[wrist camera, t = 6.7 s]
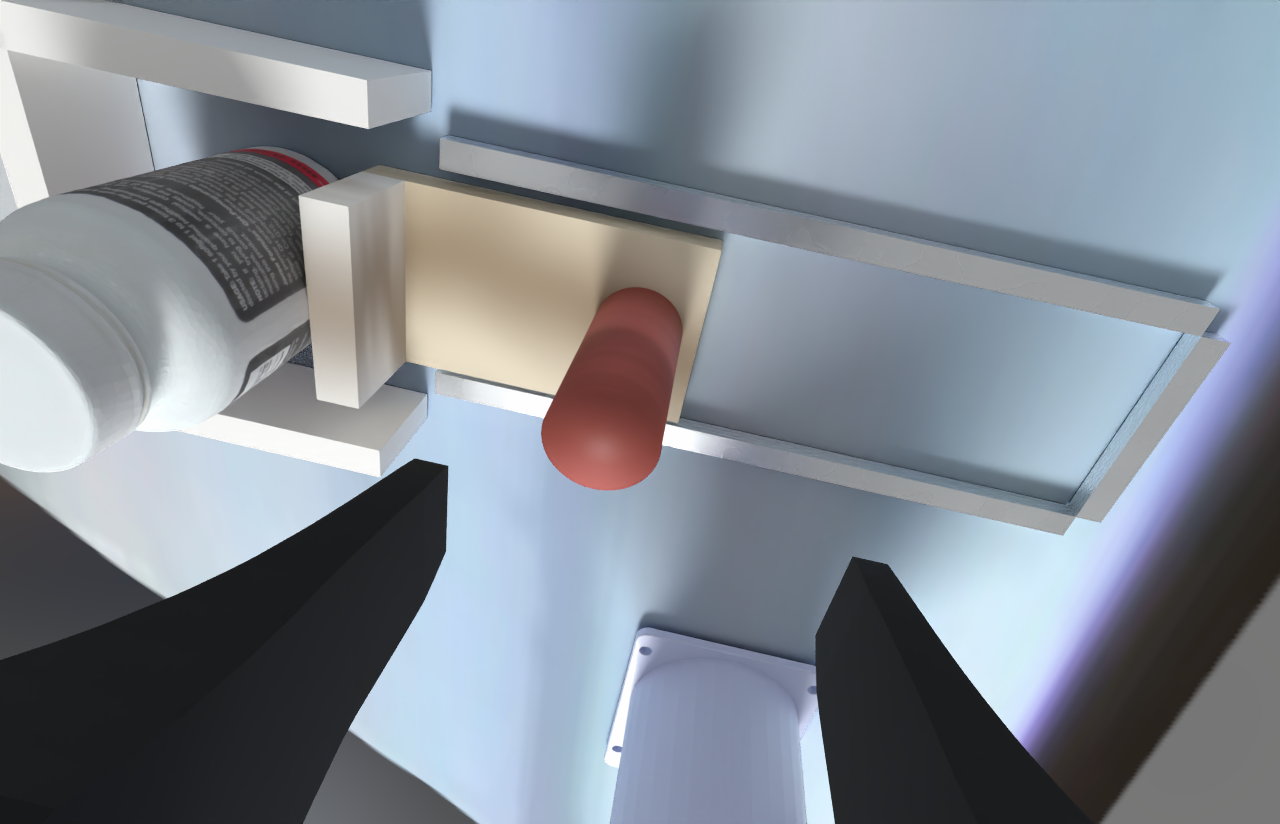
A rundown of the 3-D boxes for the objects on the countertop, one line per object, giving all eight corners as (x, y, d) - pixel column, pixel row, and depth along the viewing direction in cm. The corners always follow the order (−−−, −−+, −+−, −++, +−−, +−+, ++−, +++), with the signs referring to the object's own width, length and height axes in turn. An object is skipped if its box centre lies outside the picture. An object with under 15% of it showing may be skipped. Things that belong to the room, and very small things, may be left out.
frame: (427, 418, 23) (380, 477, 20) (165, 359, 23) (80, 408, 20) (431, 70, 17) (366, 80, 14) (84, -5, 17) (-51, -11, 14)
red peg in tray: (680, 407, 21) (657, 555, 15) (383, 340, 22) (247, 460, 16) (722, 240, 18) (714, 342, 13) (379, 164, 19) (209, 230, 13)
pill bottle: (192, 132, 19) (-240, 217, 11) (371, 155, 19) (71, 260, 10) (234, 307, 22) (-81, 483, 13) (390, 329, 21) (167, 524, 13)
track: (1079, 528, 22) (1087, 540, 21) (442, 384, 22) (434, 393, 22) (1236, 307, 18) (1250, 315, 17) (448, 134, 18) (439, 138, 18)
